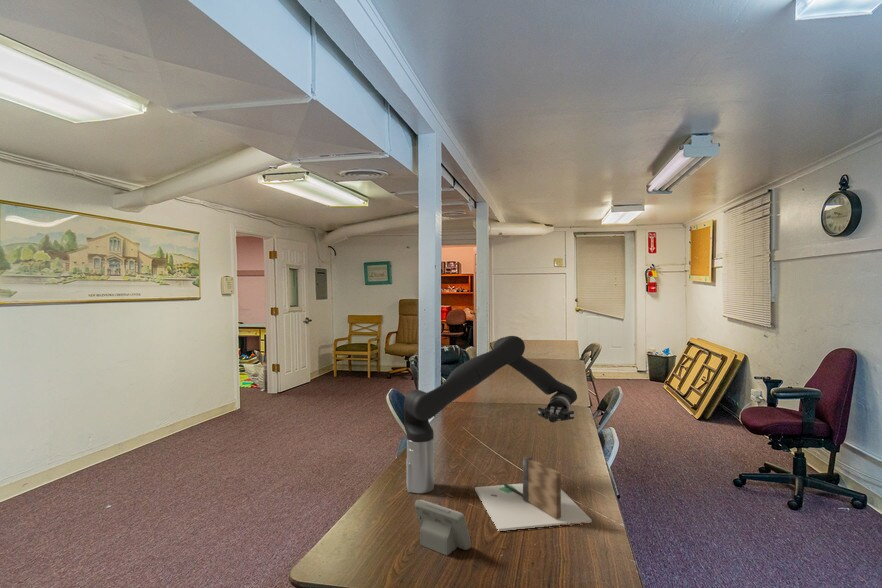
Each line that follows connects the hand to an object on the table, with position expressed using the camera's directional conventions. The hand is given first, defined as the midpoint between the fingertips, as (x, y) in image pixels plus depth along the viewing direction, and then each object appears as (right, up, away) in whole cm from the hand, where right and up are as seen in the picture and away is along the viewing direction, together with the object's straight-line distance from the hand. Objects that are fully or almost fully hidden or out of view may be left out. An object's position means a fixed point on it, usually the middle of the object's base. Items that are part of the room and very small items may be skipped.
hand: (552, 419), depth 155 cm
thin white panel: (-9, -25, -7) cm, 28 cm away
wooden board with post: (-9, -24, -7) cm, 26 cm away
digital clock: (-36, -26, -29) cm, 53 cm away
